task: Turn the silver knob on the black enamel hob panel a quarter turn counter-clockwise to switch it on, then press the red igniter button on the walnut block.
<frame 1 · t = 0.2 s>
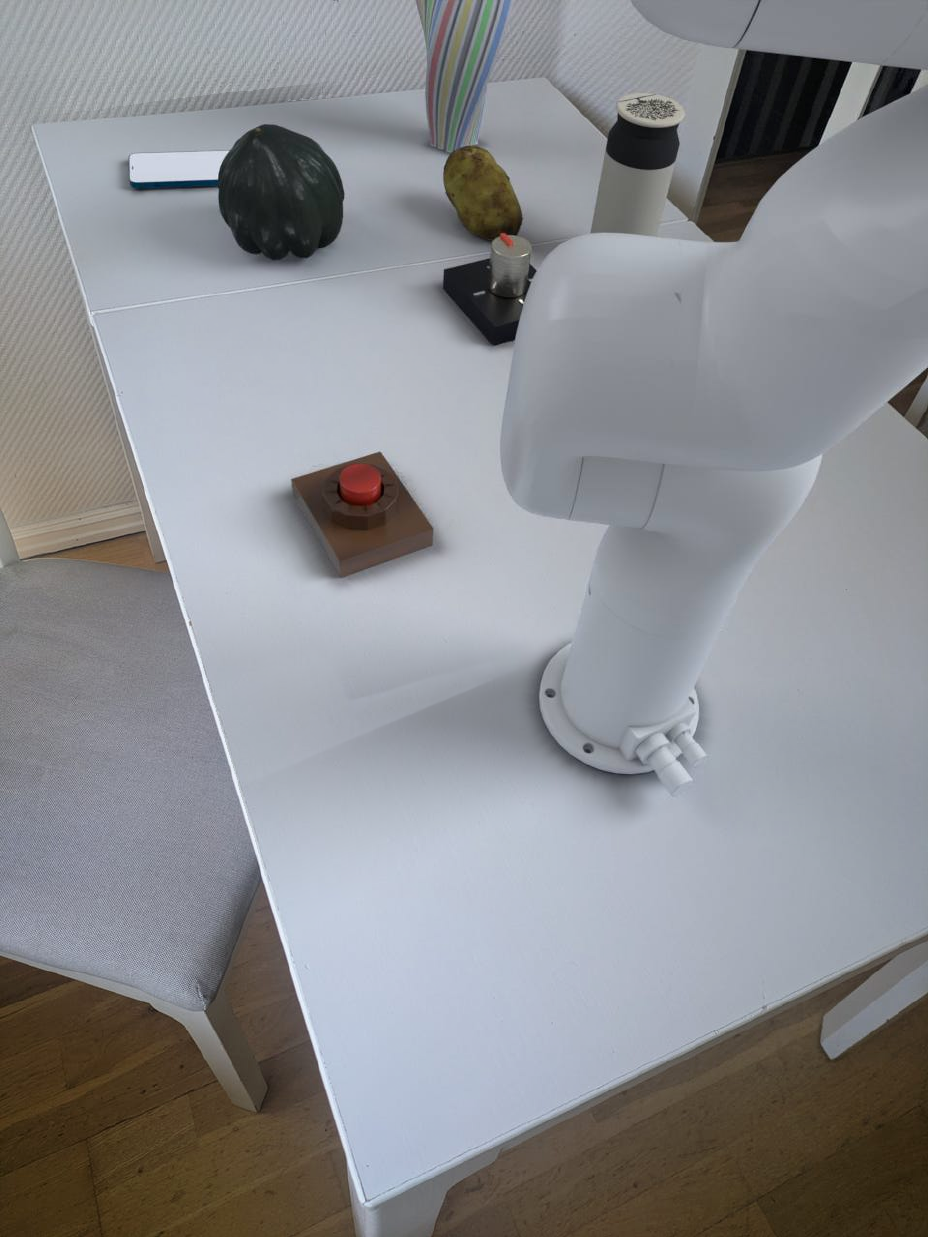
hand: (721, 22, 63), 37 cm above the table, tool pointing down, fingers open, 9 cm apart
squash: (287, 243, 110), on the table
smartphone: (194, 173, 119), on the table
hob panel: (504, 306, 105), on the table
hob knob: (509, 265, 101), point 5 cm above the table, hinge at 0.0°
igniter button: (360, 484, 79), point 4 cm above the table, slide at 0.1 cm
igniter: (361, 520, 83), on the table
travel mug: (617, 261, 112), on the table
vase: (454, 145, 128), on the table
potato: (479, 225, 116), on the table
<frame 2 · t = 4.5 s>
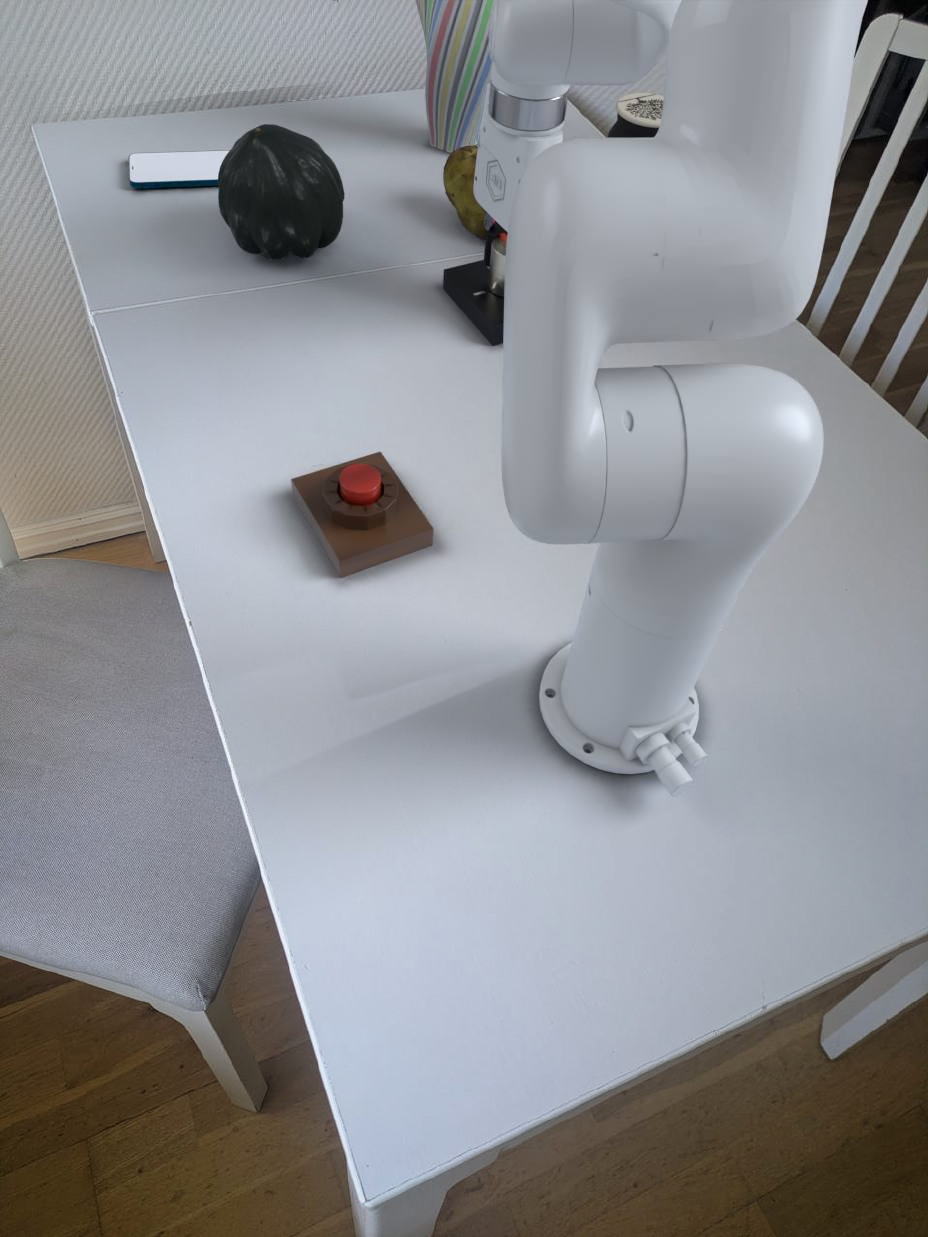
hand: (508, 273, 101), 4 cm above the table, tool pointing down, fingers closed on hob knob, 4 cm apart
hob knob: (509, 265, 101), point 5 cm above the table, hinge at 0.1°, touching gripper
everything else where it was.
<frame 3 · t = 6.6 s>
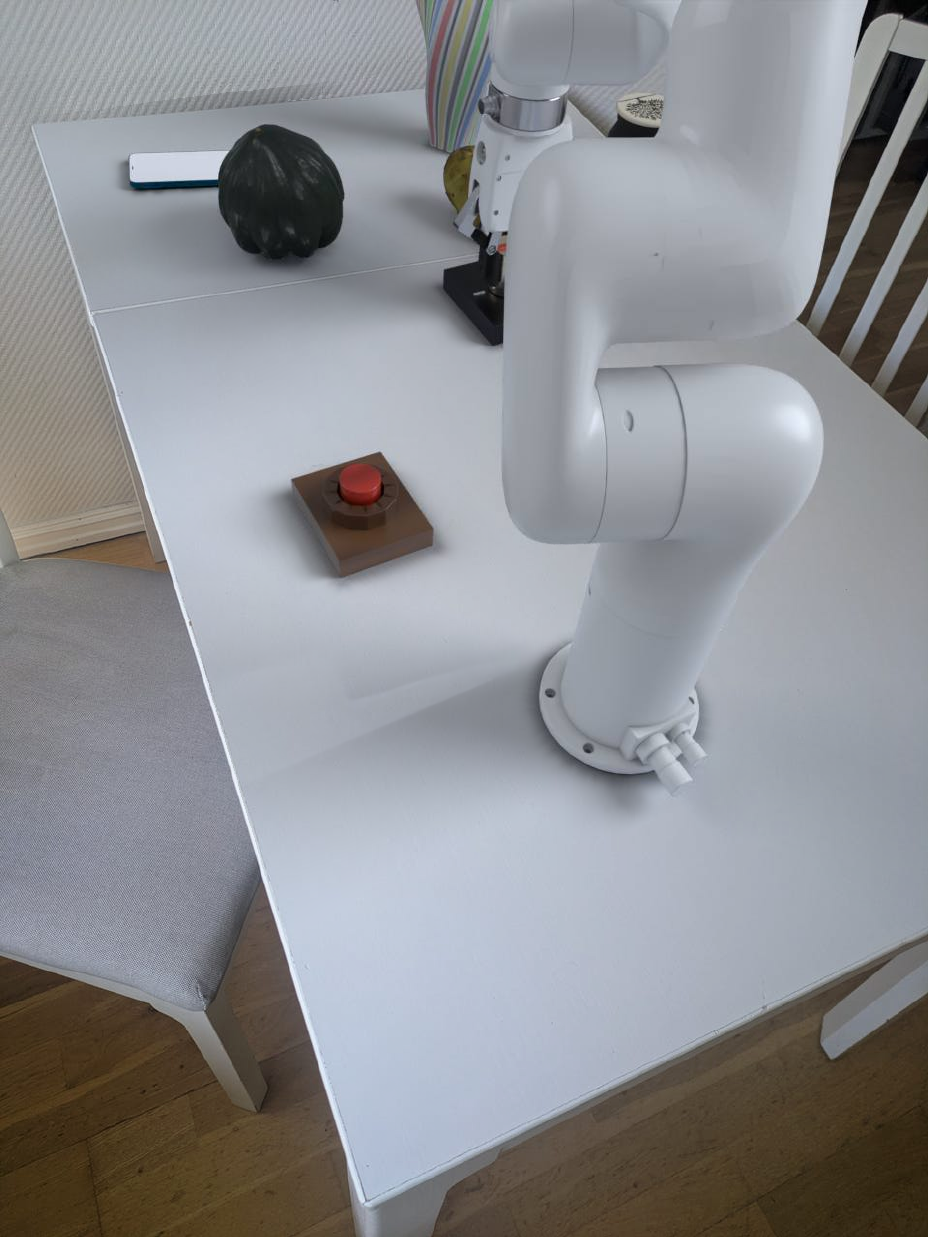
hand: (508, 273, 101), 4 cm above the table, tool pointing down, fingers closed on hob knob, 4 cm apart
hob knob: (509, 265, 101), point 5 cm above the table, hinge at 90.1°, touching gripper
everything else where it was.
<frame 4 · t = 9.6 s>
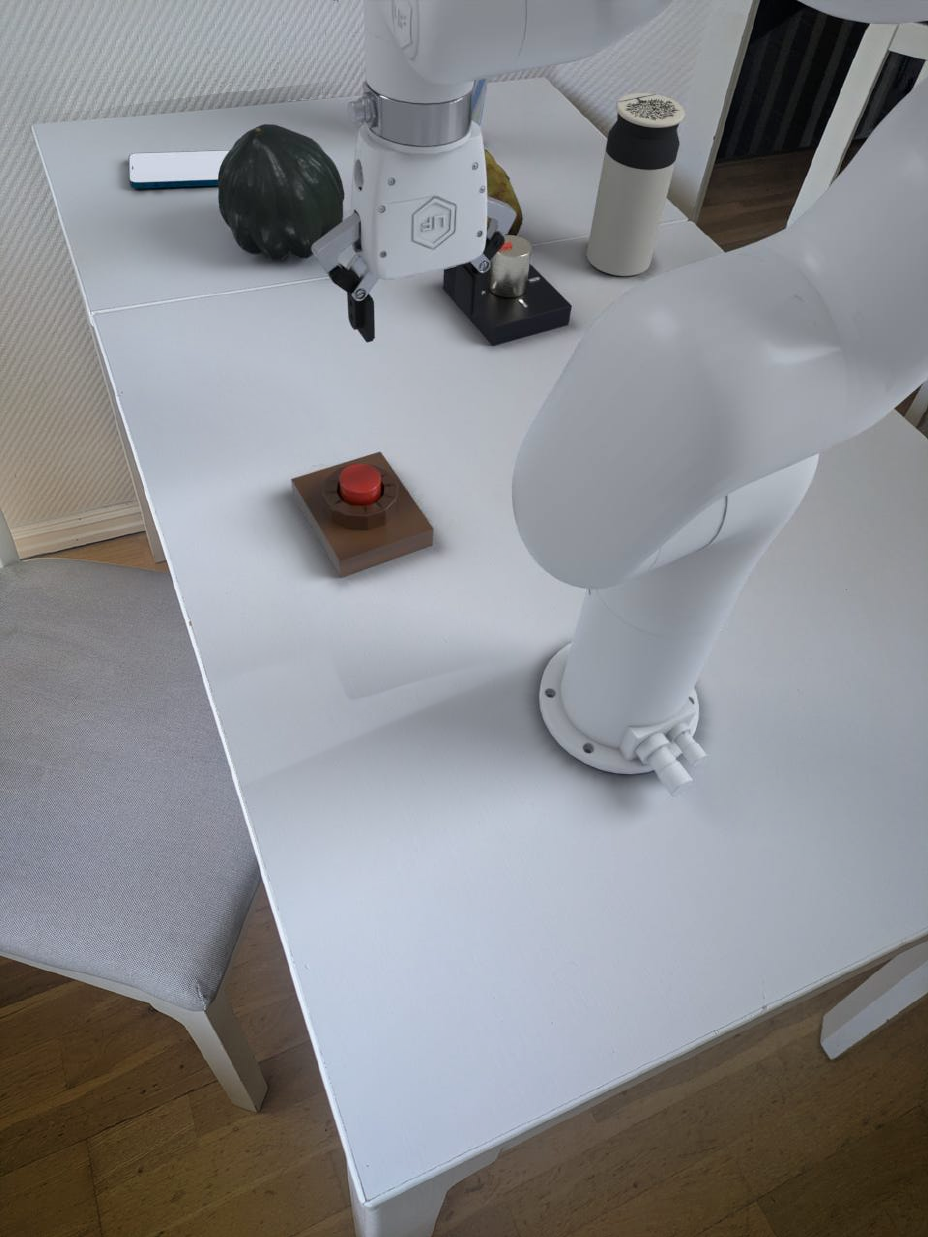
hand: (415, 320, 78), 14 cm above the table, tool pointing down, fingers open, 9 cm apart
hob knob: (509, 265, 101), point 5 cm above the table, hinge at 88.1°
everything else where it was.
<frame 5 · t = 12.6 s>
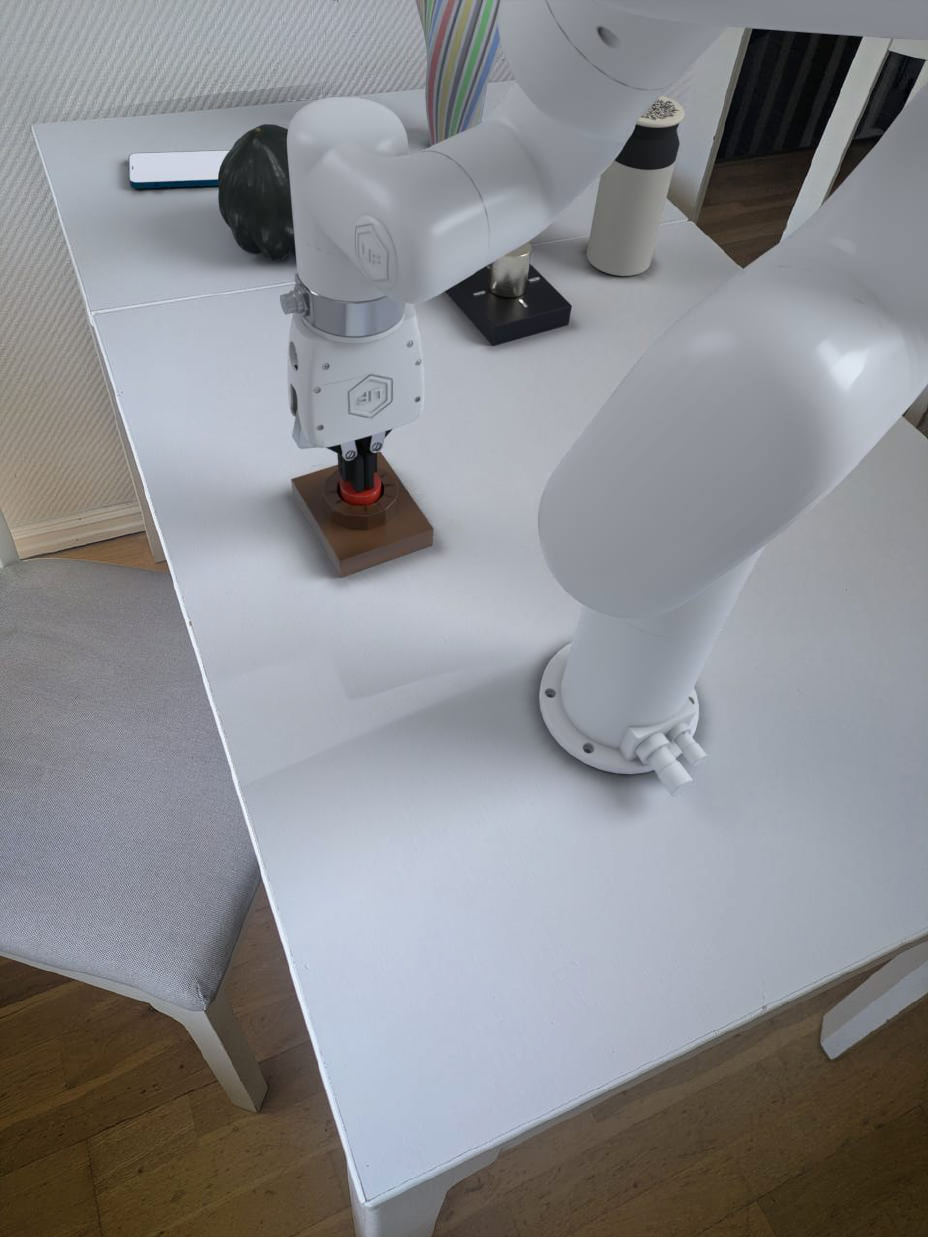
hand: (358, 480, 79), 5 cm above the table, tool pointing down, fingers closed
igniter button: (360, 489, 80), point 4 cm above the table, slide at -0.5 cm, touching gripper
everything else where it was.
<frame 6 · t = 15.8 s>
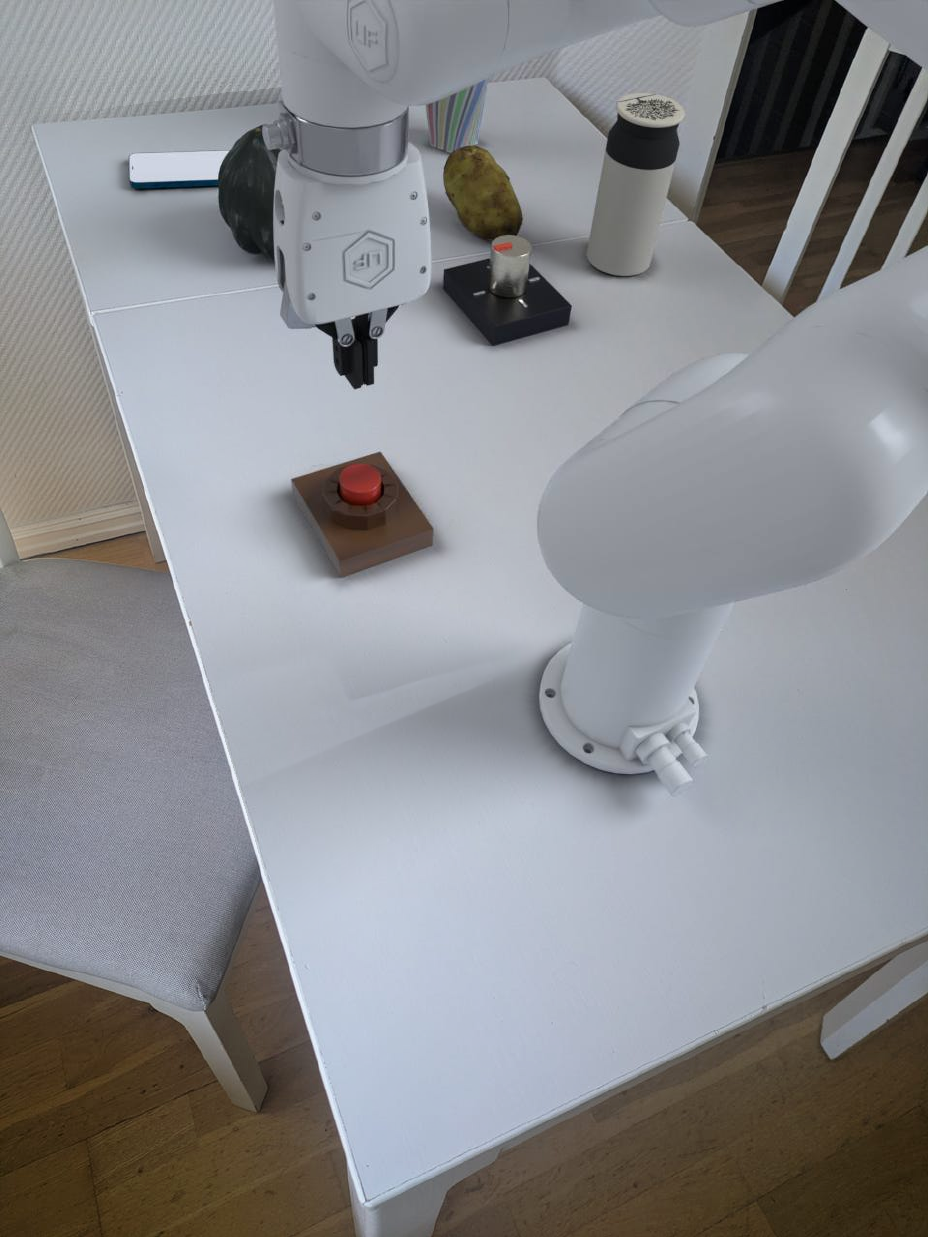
hand: (356, 376, 70), 16 cm above the table, tool pointing down, fingers closed
igniter button: (360, 484, 79), point 4 cm above the table, slide at 0.1 cm
everything else where it was.
at the end: hob knob at +88° (first picture: +0°); igniter button pushed in 1.1 cm at the most during the clip, back to where it started at the end; igniter button slide at 0.1 cm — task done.
